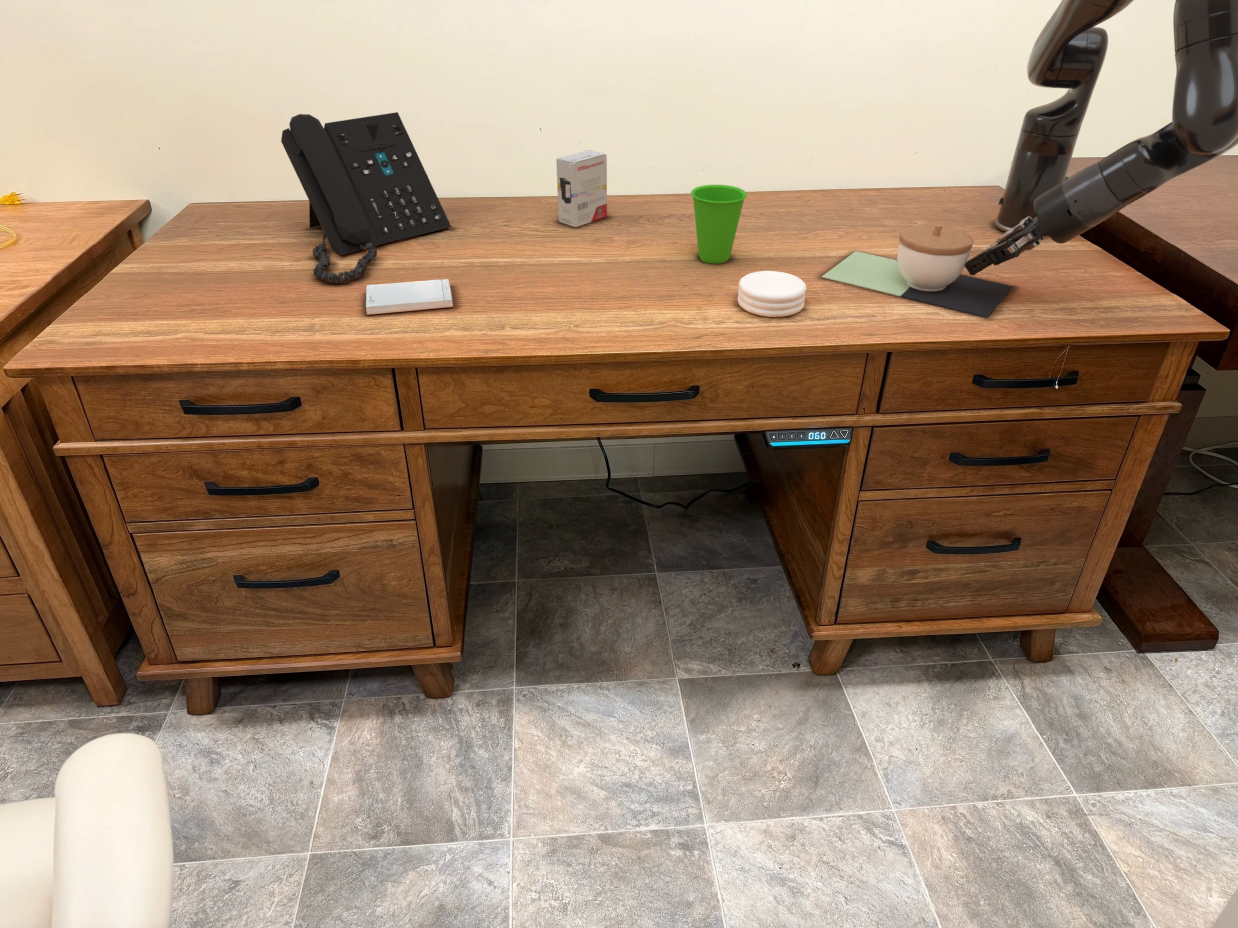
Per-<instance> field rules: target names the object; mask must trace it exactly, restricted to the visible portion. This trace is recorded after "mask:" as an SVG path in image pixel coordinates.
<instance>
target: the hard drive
mask: <svg viewBox="0 0 1238 928" xmlns="http://www.w3.org/2000/svg"><path fill="white" fill-rule="evenodd" d="M365 290H366V291H365V311H366V316H367V315H370V316H371V315H379V314H390V313H391V314H392V313H401V312H402V313H403V312H411V311H422V310H423V311H424V310H433V309H443V308H453V307H454V305H453V303H454V302H453V296H452V295H453V294H452V289H451V285H450V279H449V278H442V279H431V280H430V279H429V280H428V279H427V280H418V281H417V280H415V281H403V282H392V283H391V282H389V283H378V284H377V283H376V284H367V285H366V289H365Z"/></svg>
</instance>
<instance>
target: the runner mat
mask: <svg viewBox="0 0 1238 928" xmlns="http://www.w3.org/2000/svg"><path fill="white" fill-rule="evenodd" d="M821 278H823V279H826V280H829V281H833V282H834V281H835V282H839V283H843V284H846V285H850V286H855V287H858V288H862V289H866V290H871V291H875V292H879V293H884V294H887V295H892V296H895V297H900V298H903V299H908V300H912V301H916V302H920V303H924V304H927V305H932V306H937V307H940V308H944V309H948V310H953V311H957V312H960V313H965V314H968V315H973V316H977V317H981V318H984V319H987V318H988V317H990V315H991V314H992V313H993V311H994V310H995V309H996V308H997V306H998V305H999V304H1000V303H1001V302H1002V300H1003V299H1004V298H1005V297H1006V295H1007V294H1008V293H1009V292H1010V291H1011V290H1012V288H1013V285H1011V284H1005V283H1000V282H996V281H992V280H986V279H982V278H978V277H974V276H969V275H964V274H960V275H959V277H958V278H957V279H956V280H955V281H953V282H952V283H951V284H949V285H947V286H946V288H945V289H943V290H940V291H922V290H917V289H914V288H912V287H910V286H908V285H907V284H906V280H905V279H904V278H903V277H902V275H901V273H900V271H899V268H898V264H897V259H893V258H888V257H884V256H880V255H875V254H871V253H866V252H861V251H858V250H855V251H854V252H852V253H851V254H850V255H849V256H847V257H845V259H843V260H842V261H841V262H839V263H837V264H836V265H835V266H834V267H833V268H831V269H829V271H826V273H825V274H823V275H822V276H821Z"/></svg>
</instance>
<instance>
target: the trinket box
mask: <svg viewBox="0 0 1238 928" xmlns="http://www.w3.org/2000/svg"><path fill="white" fill-rule="evenodd" d="M973 245H974V240H973V237H972V236H971V235H970V234H969V233H966V232H965V231H963V230H961V229H958V228H955V227H951V226H946V225H945V226H944V225H943V224H915V225H911V226H907V227H905V228H902V229H901V230H900V232H899V236H898V246H897V251H896V252H897V253H896V255H897V256H896V260H897V264H898V268H899V271H900V273H901V275H902V277H903V278H904V279H905V280H906V284H907V285H908V286H910V287H912V288H914V289H917V290H922V291H940V290H943V289H945V288H946V286H947V285H949V284H951V283H952V282H953V281H955V280H956V279H957V278H958V277H959V275H962V273H963V271H964V270H965V263H966V262H967V261H968V260H969V257H970V254H971V249H972V248H973Z"/></svg>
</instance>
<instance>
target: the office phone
mask: <svg viewBox="0 0 1238 928" xmlns="http://www.w3.org/2000/svg"><path fill="white" fill-rule="evenodd" d="M280 142H281V144H282V147H283V149H284V151H285V153H286V155H287V157H288V159H289V162H290V163H291V165H292V168H293V169H294V172H295V174H296V177H297V178H298V180H299V182H300V184H301V186H302V189H303V191H304V193H305V195H306V198H307V199H308V201H309V203H308V206H309V207H308V211H309V217H308V218H309V219H308V220H309V229H313V228H317V227H321V229H322V231H323V233H324V234H323V237H322V242H321V243H319V244H318V245H315V246H314V247H313V248H312V250H311V251H312V256H313V257H315V258H316V259H317V260H318V263H316V264H315V267H314V268H313V269H312V271H313V275H314V276H315V277H316V279H318V280H321V281H323V282H326V283H329V282H331V283H333V284H342V283H348V282H350V281H355V279H358V278H362V275H364V272H365V271H366V268H367V264H371V262H372V261H373V260H375V259H376V258H377V257H376V256H377V255H378V249H377V246H380V245H382V244H388V243H391V242H396V241H399V240H403V239H407V238H408V239H409V238H412V237H417V236H421V235H424V234H429V233H433V232H436V231H441V230H446V229H449V228H452V225H451V223H450V220H449V219H448V217H447V215H446V212H445V210H444V208H443V205H442V203H441V202H440V199H439V197H438V195H437V193H436V190H435V189H434V187H433V185H432V182H431V180H430V178H429V176H428V174H427V172H426V170H425V167H424V165H423V163H422V161H421V159H420V157H419V155H418V153H417V150H416V148H415V146H414V144H413V142H412V140H411V137H410V136H409V134H408V131H407V129H406V127H405V125H404V123H403V121H402V118H401V116H400V114H399V112H398V111H395V112H389V113H383V114H377V115H370V116H364V117H356V118H351V119H343V120H338V121H331V122H325V123H324V125H322V123H321V121H320V119H318V118H316V117H315V116H313V115H311V114H310V113H309V114H307V113H299V114H296V115H294V116H292V117H291V118H290V121H289V128H285V129H284V130H282V132H281V139H280ZM326 240H327V242H328V244H329V246H330V248H331V250H332V251H333V252H335V253H337V254H338V255H340V256H345V255H348V254H353V253H356V252H359V251H362V250H365V251H367V252H366V253H364V255H363V256H361V258H359V259H358V260H357V262H356V265H355V267H354V268H353V269H350V270H349V271H346V270H345V271H343V270H342V271H339V272H338V273H334V272H329V271H325V270H326V269H327V268H328V267H329V265H330V264H331V255H330V254H328V253H327V252H328V247H327V246H326Z"/></svg>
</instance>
